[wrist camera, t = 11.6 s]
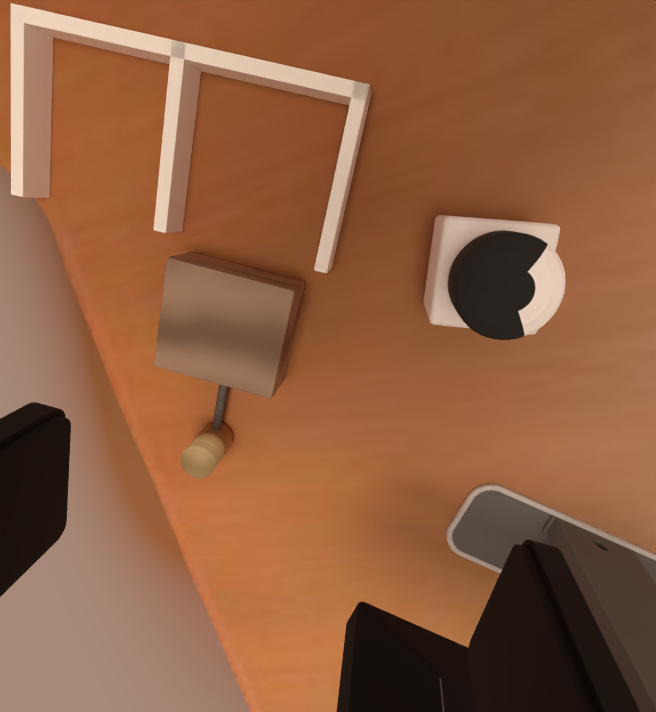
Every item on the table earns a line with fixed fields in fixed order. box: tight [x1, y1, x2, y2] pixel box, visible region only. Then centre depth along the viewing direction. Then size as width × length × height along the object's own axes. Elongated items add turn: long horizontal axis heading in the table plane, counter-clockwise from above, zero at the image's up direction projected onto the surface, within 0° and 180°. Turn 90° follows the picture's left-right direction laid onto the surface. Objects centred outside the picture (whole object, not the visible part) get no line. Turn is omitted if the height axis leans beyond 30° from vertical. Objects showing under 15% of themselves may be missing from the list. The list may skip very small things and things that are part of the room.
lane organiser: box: [11, 3, 371, 273], centre depth 35 cm, size 13×26×3 cm, turn 77°
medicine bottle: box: [423, 215, 565, 340], centre depth 31 cm, size 7×7×12 cm
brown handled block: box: [154, 252, 306, 478], centre depth 39 cm, size 18×10×5 cm, turn 167°
